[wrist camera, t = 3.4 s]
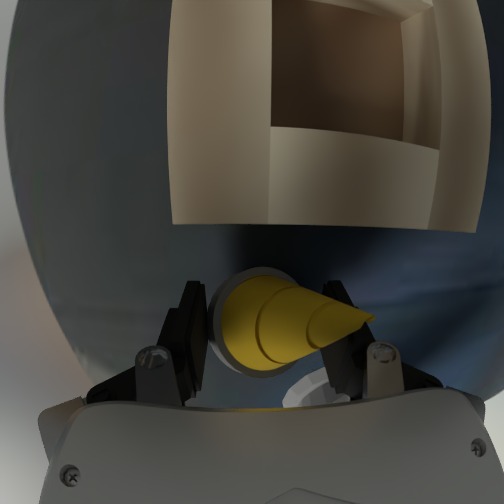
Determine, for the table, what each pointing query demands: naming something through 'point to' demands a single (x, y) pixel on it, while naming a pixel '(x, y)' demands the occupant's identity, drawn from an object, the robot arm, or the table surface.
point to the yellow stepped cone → (274, 322)
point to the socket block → (328, 113)
